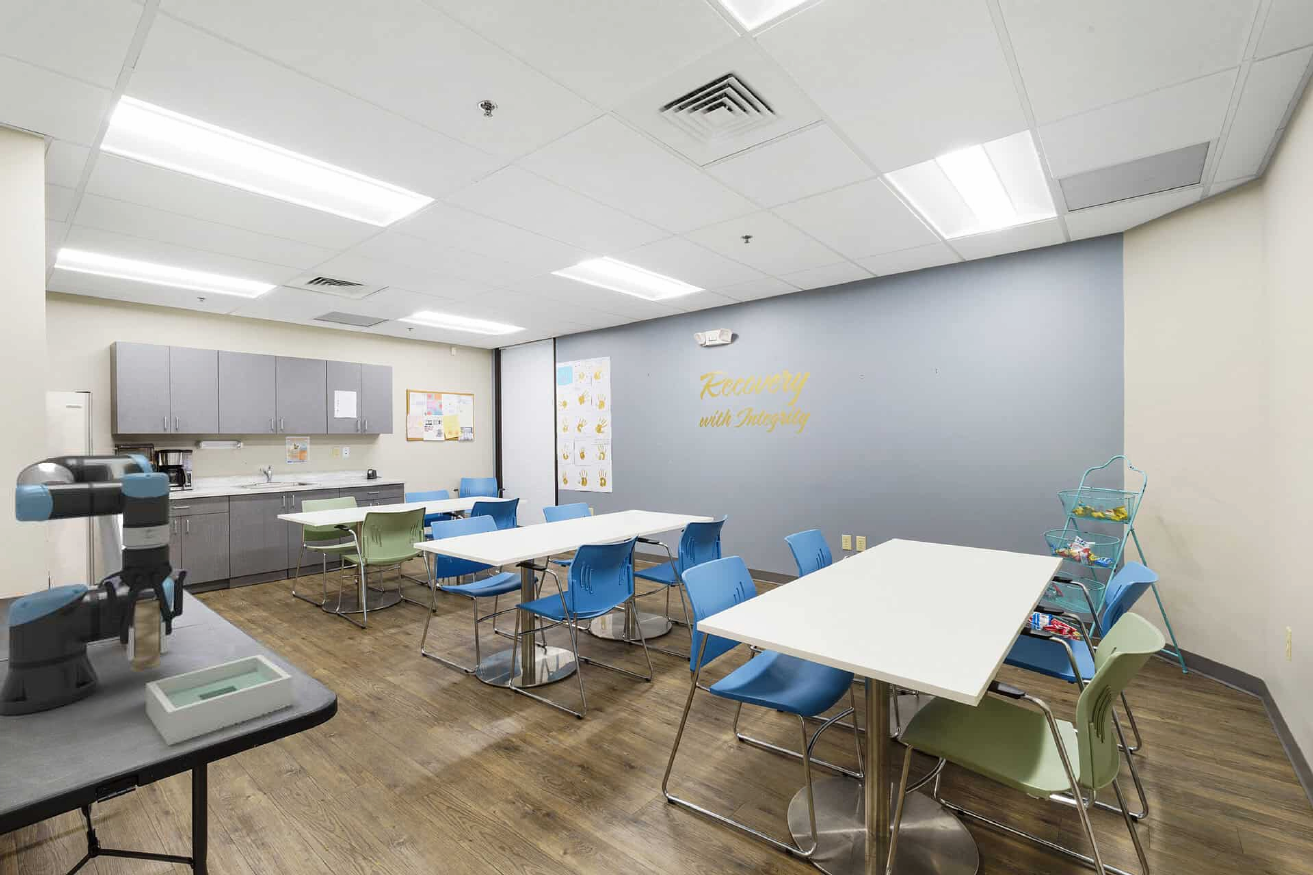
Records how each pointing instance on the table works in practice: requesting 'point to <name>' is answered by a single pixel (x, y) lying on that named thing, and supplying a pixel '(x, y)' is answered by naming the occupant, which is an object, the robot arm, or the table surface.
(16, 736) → the table surface
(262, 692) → the bore box
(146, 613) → the peg
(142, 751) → the table surface
